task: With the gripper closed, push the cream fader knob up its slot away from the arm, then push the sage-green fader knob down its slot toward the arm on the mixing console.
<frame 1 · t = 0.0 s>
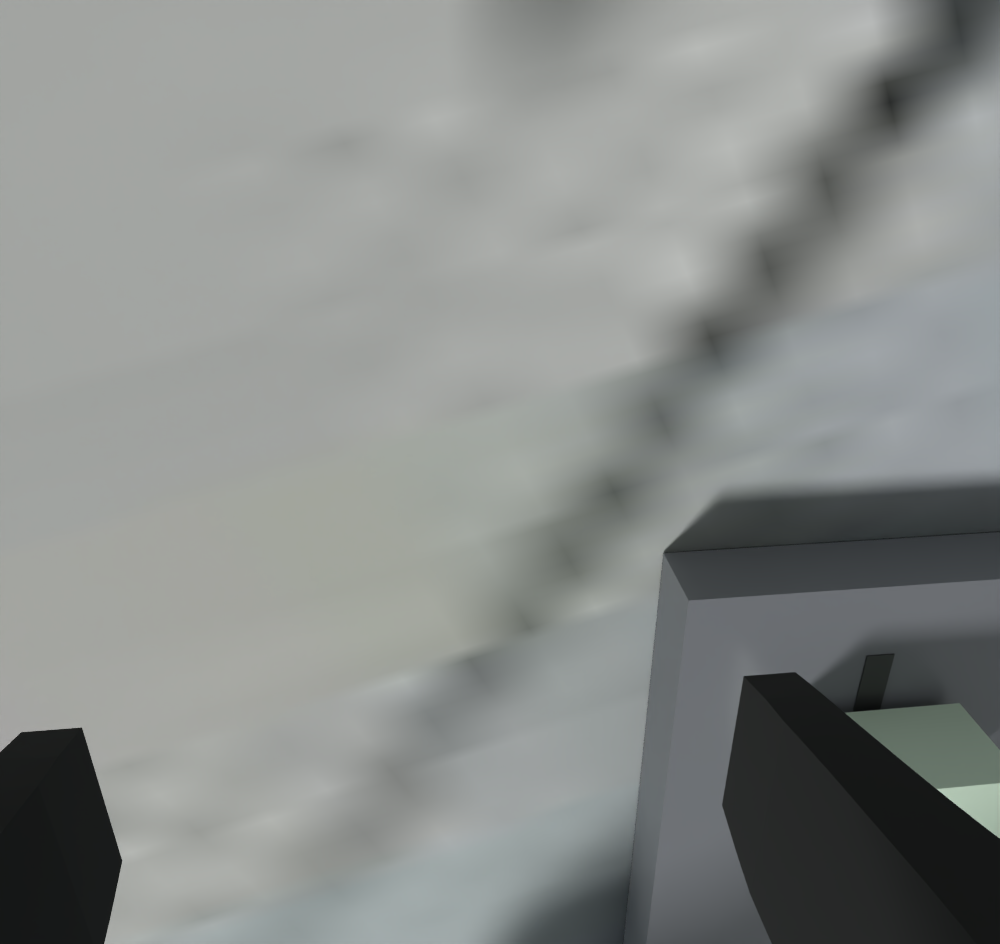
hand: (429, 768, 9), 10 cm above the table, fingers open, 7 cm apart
console: (923, 783, 26), on the table
sage fader: (887, 793, 20), point 4 cm above the table, slide at 10.0 cm
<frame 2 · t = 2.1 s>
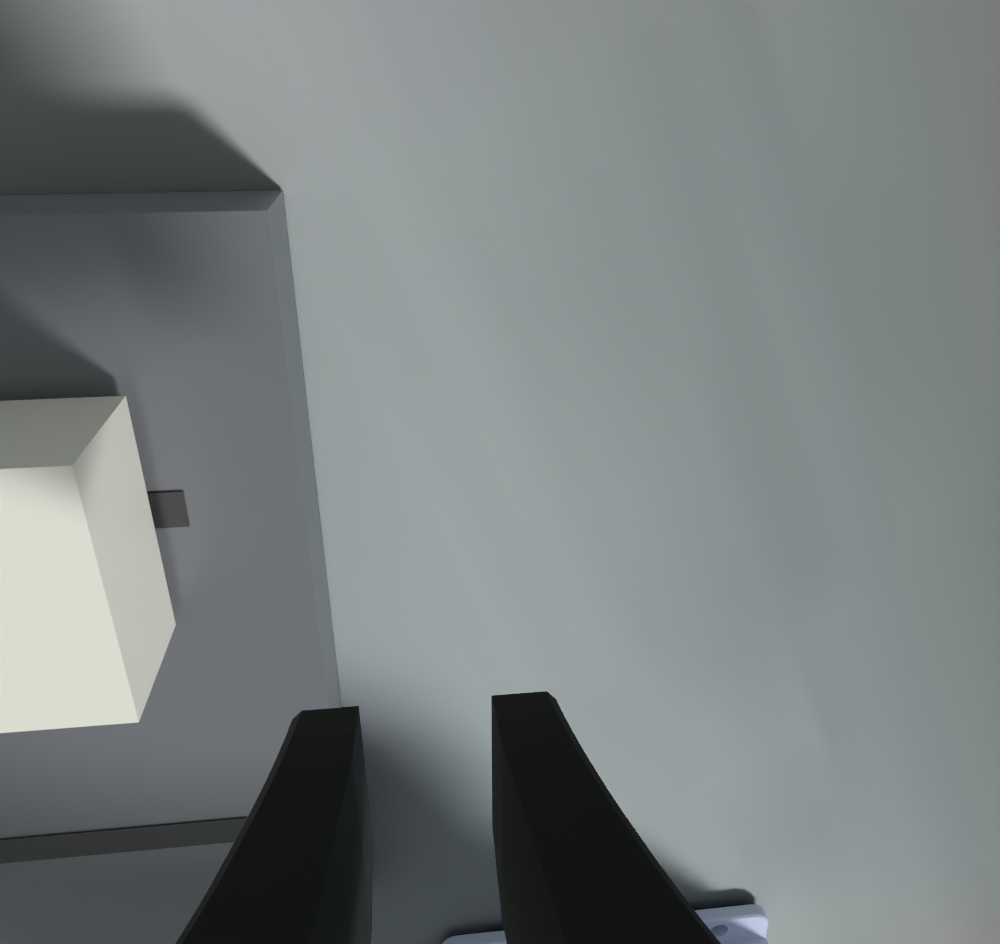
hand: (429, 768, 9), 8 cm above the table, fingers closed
cream fader: (32, 563, 13), point 4 cm above the table, slide at 1.0 cm
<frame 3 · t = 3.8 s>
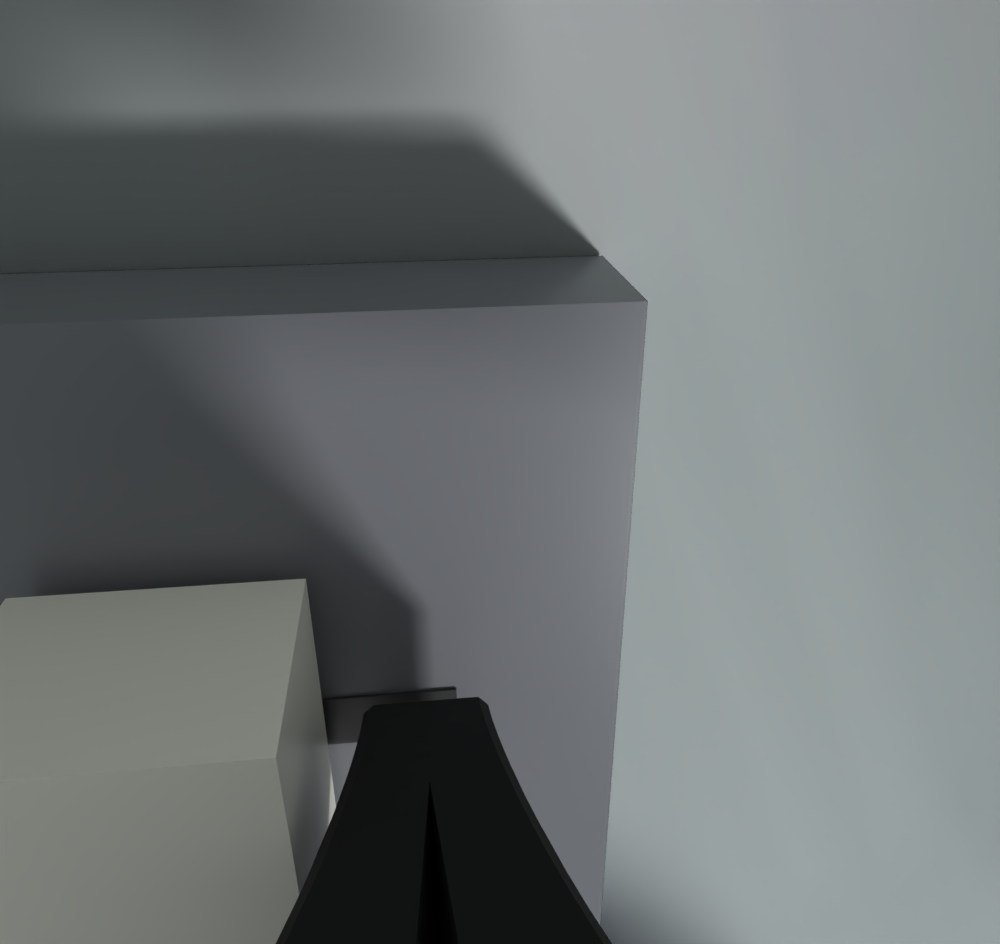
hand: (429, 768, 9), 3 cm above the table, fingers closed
console: (10, 851, 13), on the table
cream fader: (169, 840, 9), point 4 cm above the table, slide at 2.1 cm, touching gripper
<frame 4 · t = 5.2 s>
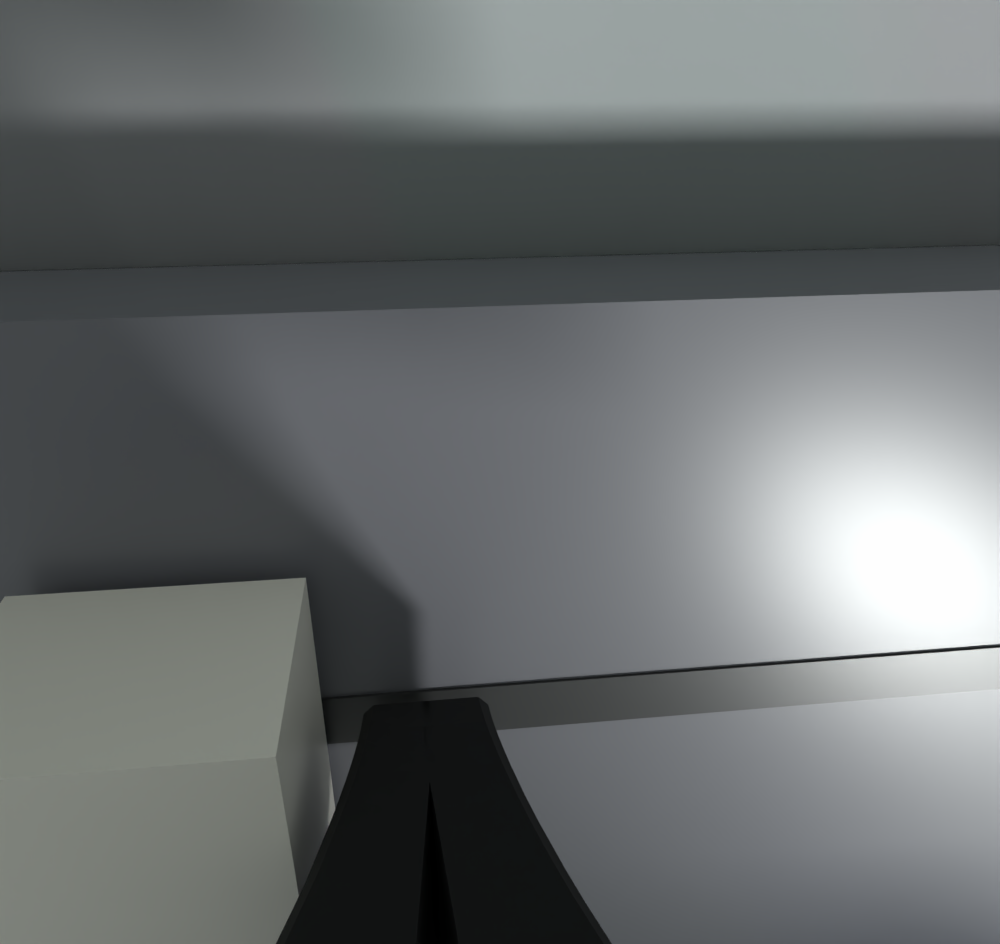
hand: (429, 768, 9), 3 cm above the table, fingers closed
console: (492, 806, 14), on the table
cream fader: (168, 839, 9), point 4 cm above the table, slide at 9.7 cm, touching gripper
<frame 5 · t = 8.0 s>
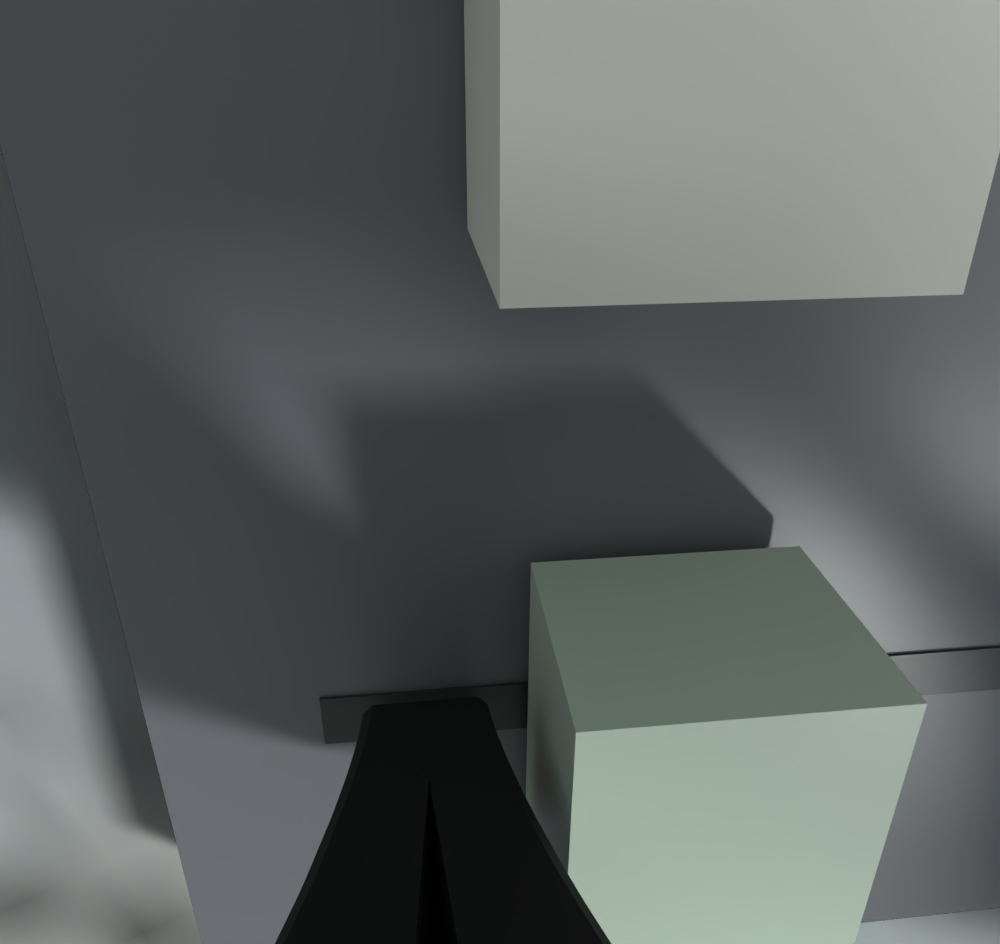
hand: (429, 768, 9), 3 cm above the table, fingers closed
console: (863, 325, 11), on the table
sage fader: (681, 793, 9), point 4 cm above the table, slide at 9.1 cm, touching gripper
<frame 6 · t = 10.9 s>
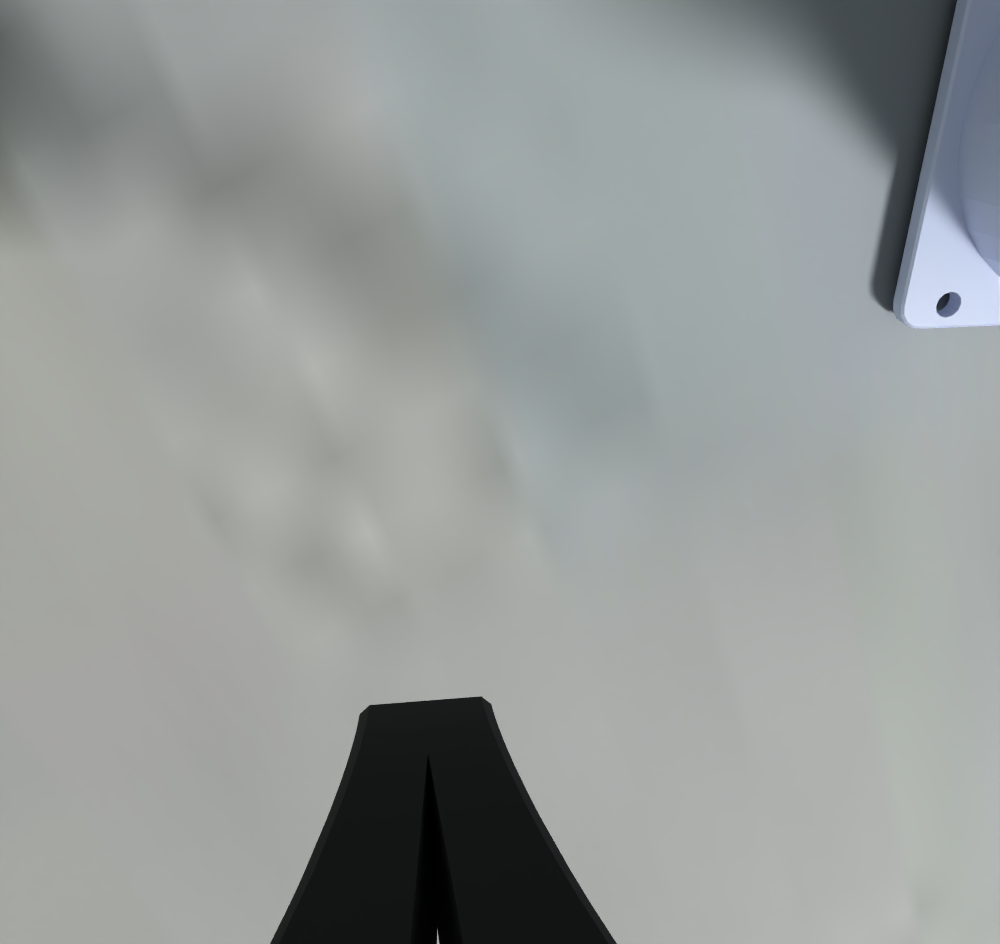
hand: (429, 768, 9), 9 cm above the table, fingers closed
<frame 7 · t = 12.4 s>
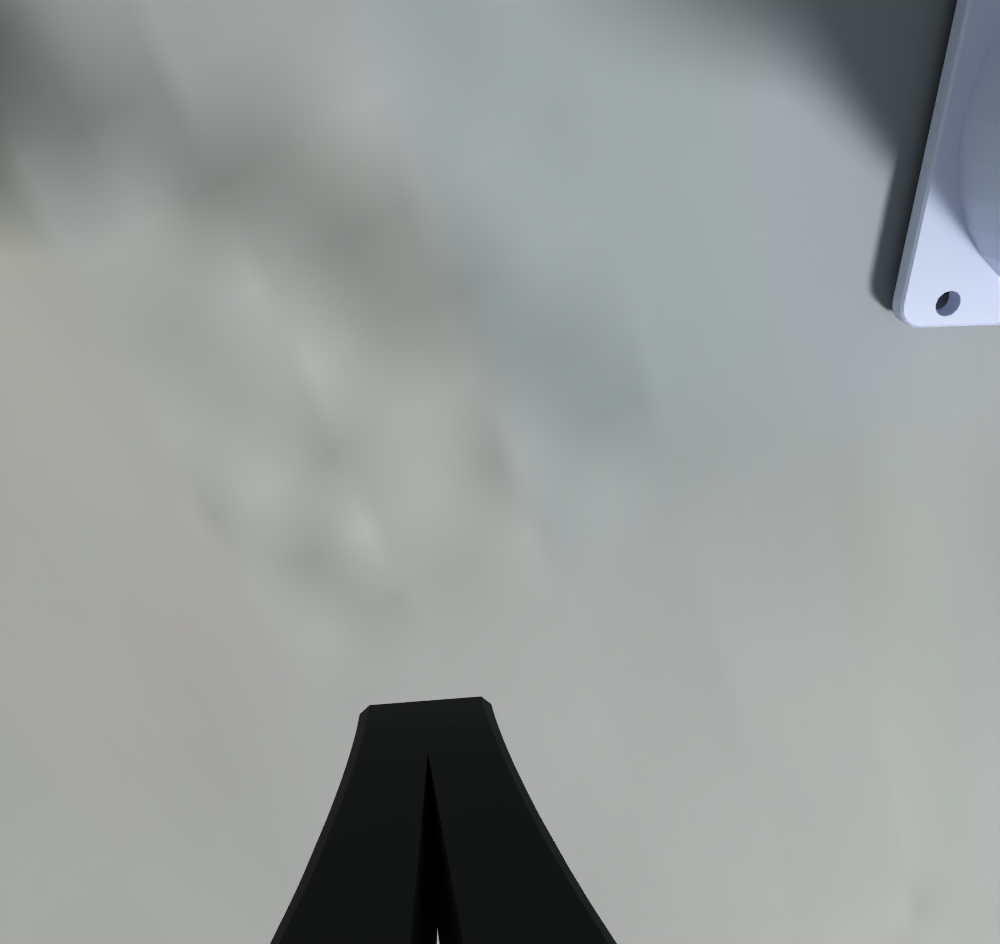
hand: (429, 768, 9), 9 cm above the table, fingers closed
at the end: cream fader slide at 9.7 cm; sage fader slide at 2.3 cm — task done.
